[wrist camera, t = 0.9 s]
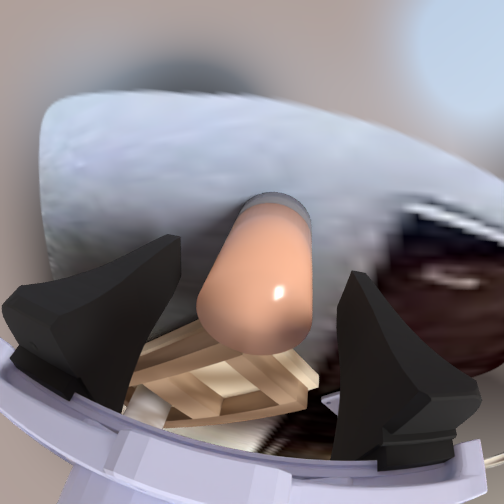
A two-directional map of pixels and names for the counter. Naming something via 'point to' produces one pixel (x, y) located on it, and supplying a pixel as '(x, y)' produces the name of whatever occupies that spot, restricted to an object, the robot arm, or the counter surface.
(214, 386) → the socket holder
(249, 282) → the peach rounded capsule
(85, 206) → the counter surface
